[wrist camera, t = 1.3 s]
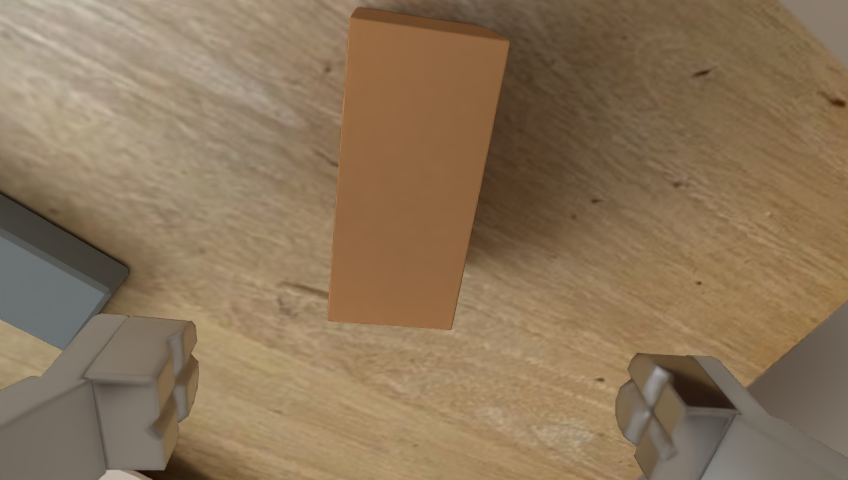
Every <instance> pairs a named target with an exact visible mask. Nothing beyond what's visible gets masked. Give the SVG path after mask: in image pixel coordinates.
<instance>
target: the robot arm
mask: <svg viewBox="0 0 848 480" xmlns="http://www.w3.org/2000/svg"><path fill="white" fill-rule="evenodd" d="M196 342H197V335H196V325H195V324H194V323H193V322H192V321H186V320H175V319H164V318H153V317H142V316H128V315H116V314H103V313H101V314H98V315H95V316H93V317H92V318H91V319H90V320H89V322H88V323H87V324H86V325H85V326H84V327H83V329H82V330H81V331H80V332H79V333H78V334H77V336H76V337H75V338H74V339H73V340H72V341H71V343H70V344H69V345H68V346H67V347H66V348H65V349H64V351H63V352H62V353H61V354H60V355H59V356H58V358H57V359H56V360H55V361H54V362H53V363H52V365H51V366H50V367H49V368H48V369H47V370H46V371H45V373H44V374H43V375H42V376H41V377H35V376H30V377H28V378H26V379H24V380H21V381H19V382H17V383H15V384H13V385H11V386H8V387H6V388H4V389H2V390H0V480H99V479H100V478H101V477H102V476H103V475H105V474H106V470H165V467H166V465H167V463H168V461H169V458H170V456H171V454H172V452H173V449H174V447H175V445H176V443H177V441H178V438H179V429H178V423H179V422H181V421H182V420H183V419H185V418H186V417H188V416H189V413H190V411H191V408H192V406H193V404H194V400H195V396H196V392H197V387H198V377H199V366H198V361H197V360H196V359H195V358H194V356H193V355H192V354H191V352H192V350H193V348H194V346H195V344H196ZM627 370H628V372H629V375H630V377H631V379H630V380H629V381H628V382H626V383H625V384H624V385H622V386H621V387H620V389H619V392H618V395H617V398H616V401H615V416H616V419H617V423H618V426H619V428H620V430H621V432H622V434H623V436H624V437H625V438H626V439H627V440H629V441H630V442H631V443H632V444H634V445H635V446H636V451H635V455H634V457H635V459H636V461H637V462H638V464H639V466H640V468H641V470H642V472H643V474H644V475H645V477H646V479H647V480H848V457H846V456H844V455H842V454H841V453H839V452H837V451H835V450H834V449H832V448H830V447H829V446H827V445H825V444H823V443H822V442H820V441H818V440H816V439H815V438H813V437H811V436H809V435H808V434H806V433H804V432H803V431H801V430H799V429H797V428H796V427H794V426H792V425H791V424H789V423H787V422H785V421H784V420H782V419H780V418H778V417H770V416H769V415H768V414H767V413H766V412H765V410H764V409H763V408H762V407H761V406H760V405H759V404H758V402H757V401H756V400H755V399H754V398H753V397H752V396H751V395H750V394H749V393H748V391H747V390H746V389H745V388H744V387H743V386H742V385H741V384H740V383H739V381H738V380H737V379H736V378H735V377H734V376H733V375H732V374H731V373H730V371H729V370H728V369H727V368H726V367H725V366H724V365H723V364H722V363H721V361H720V360H718V359H716V358H714V357H712V356H694V355H686V356H678V355H662V354H647V353H637V354H636V355H635V356H634V357H633V358H632V359H631V362H630V364H629V367H628V369H627Z"/></svg>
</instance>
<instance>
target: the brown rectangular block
mask: <svg viewBox="0 0 848 480" xmlns="http://www.w3.org/2000/svg"><path fill="white" fill-rule="evenodd" d="M510 44H511V42H510V41H509V40H507V39H506V38H504V37H502V36H500V35H498V34H496V33H494V32H492V31H490V30H488V29H486V28H484V27H482V26H477V25H470V24H464V23H457V22H451V21H444V20H438V19H431V18H424V17H418V16H411V15H405V14H398V13H392V12H385V11H379V10H372V9H365V8H359V7H358V8H356V10H355V11H354V12H353V14H352V15H351V17H350V18H349V29H348V42H347V56H346V69H345V83H344V96H343V110H342V123H341V137H340V151H339V164H338V178H337V191H336V205H335V218H334V232H333V245H332V259H331V272H330V286H329V299H328V313H327V320H328V321H336V322H350V323H363V324H377V325H391V326H404V327H418V328H432V329H445V330H451V329H452V325H453V320H454V315H455V311H456V306H457V301H458V296H459V291H460V286H461V281H462V277H463V272H464V267H465V262H466V257H467V252H468V248H469V243H470V238H471V233H472V228H473V223H474V218H475V214H476V209H477V204H478V199H479V194H480V189H481V185H482V180H483V175H484V170H485V165H486V160H487V155H488V151H489V146H490V141H491V136H492V131H493V126H494V122H495V117H496V112H497V107H498V102H499V97H500V92H501V88H502V83H503V78H504V73H505V68H506V63H507V59H508V54H509V49H510Z"/></svg>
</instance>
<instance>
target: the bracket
mask: <svg viewBox="0 0 848 480" xmlns="http://www.w3.org/2000/svg"><path fill="white" fill-rule="evenodd" d="M128 274H129V272H128V269H127V268H126V267H125V266H123V265H121V264H120V263H118V262H116V261H114V260H113V259H111V258H109V257H108V256H106V255H104V254H102V253H101V252H99V251H97V250H96V249H94V248H92V247H90V246H89V245H87V244H85V243H83V242H82V241H80V240H78V239H77V238H75V237H73V236H71V235H70V234H68V233H66V232H65V231H63V230H61V229H59V228H58V227H56V226H54V225H53V224H51V223H49V222H47V221H46V220H44V219H42V218H41V217H39V216H37V215H35V214H34V213H32V212H30V211H28V210H27V209H25V208H23V207H22V206H20V205H18V204H16V203H15V202H13V201H11V200H10V199H8V198H6V197H4V196H3V195H1V194H0V319H1V320H3V321H5V322H7V323H9V324H11V325H13V326H15V327H17V328H19V329H21V330H23V331H25V332H27V333H29V334H31V335H33V336H35V337H37V338H39V339H41V340H43V341H45V342H47V343H49V344H51V345H53V346H55V347H57V348H59V349H61V350H63V351H64V349H65V348H66V347H67V346H68V345H69V344H70V343H71V341H72V340H73V339H74V338H75V337H76V336H77V334H78V333H79V332H80V331H81V330H82V329H83V327H84V326H85V325H86V324H87V323H88V322H89V320H90V319H91V318H92V317H93V316H95V315H98V314H99V313H100V311H101V310H102V309H103V307H104V306H105V305H106V303H107V302H108V301H109V299H110V298H111V297H112V295H113V294H114V293H115V291H116V290H117V289H118V287H119V286H120V285H121V283H122V282H123V281H124V279H125V278H126V277H127V275H128Z"/></svg>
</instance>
